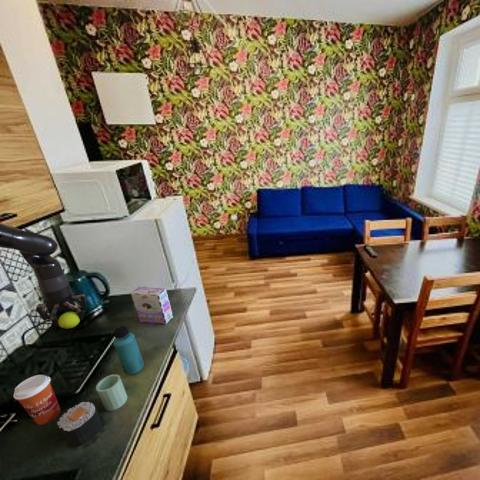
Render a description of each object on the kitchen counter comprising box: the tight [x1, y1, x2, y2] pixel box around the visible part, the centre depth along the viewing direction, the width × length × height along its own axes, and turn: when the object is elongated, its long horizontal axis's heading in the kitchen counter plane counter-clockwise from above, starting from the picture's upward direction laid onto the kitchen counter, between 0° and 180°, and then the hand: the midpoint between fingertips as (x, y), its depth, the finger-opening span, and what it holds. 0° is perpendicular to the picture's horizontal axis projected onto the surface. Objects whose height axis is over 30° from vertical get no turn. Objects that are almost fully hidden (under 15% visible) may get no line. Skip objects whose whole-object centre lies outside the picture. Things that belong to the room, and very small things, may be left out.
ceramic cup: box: [95, 373, 128, 412], centre depth 86 cm, size 6×6×9 cm
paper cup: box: [13, 374, 61, 426], centre depth 81 cm, size 8×8×14 cm
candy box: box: [129, 286, 174, 326], centre depth 123 cm, size 14×6×16 cm, turn 83°
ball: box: [58, 311, 81, 330], centre depth 104 cm, size 6×6×6 cm
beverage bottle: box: [112, 325, 145, 376], centre depth 95 cm, size 6×7×20 cm
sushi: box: [56, 401, 104, 447], centre depth 78 cm, size 8×8×8 cm
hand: (70, 322), depth 105 cm, fingers closed on ball, 6 cm apart
